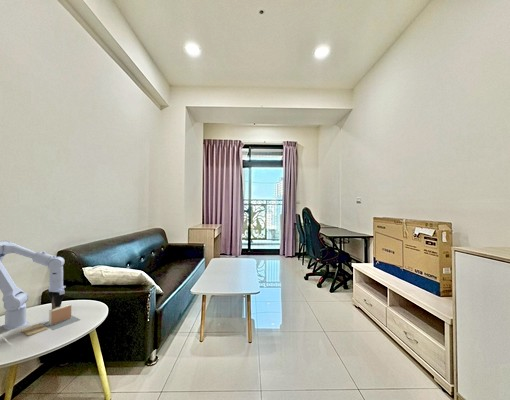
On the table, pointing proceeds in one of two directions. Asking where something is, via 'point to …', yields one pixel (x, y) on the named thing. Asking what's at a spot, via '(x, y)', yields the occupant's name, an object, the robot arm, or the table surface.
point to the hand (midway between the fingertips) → (56, 305)
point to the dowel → (54, 304)
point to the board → (34, 329)
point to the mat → (62, 323)
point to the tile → (59, 314)
